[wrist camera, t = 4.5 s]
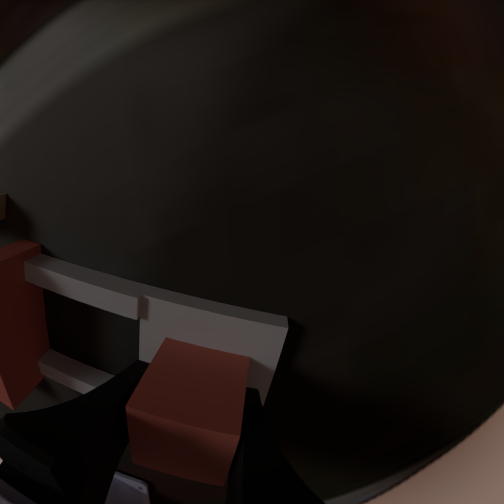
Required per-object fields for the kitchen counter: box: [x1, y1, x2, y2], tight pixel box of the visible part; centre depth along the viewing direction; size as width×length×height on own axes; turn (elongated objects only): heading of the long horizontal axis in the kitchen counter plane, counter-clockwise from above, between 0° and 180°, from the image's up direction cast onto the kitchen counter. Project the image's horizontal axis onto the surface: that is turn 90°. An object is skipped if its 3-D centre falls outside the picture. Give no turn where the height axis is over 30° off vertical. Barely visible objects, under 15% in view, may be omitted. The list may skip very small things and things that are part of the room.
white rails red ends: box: [0, 239, 288, 486], centre depth 11 cm, size 8×14×5 cm, turn 78°
